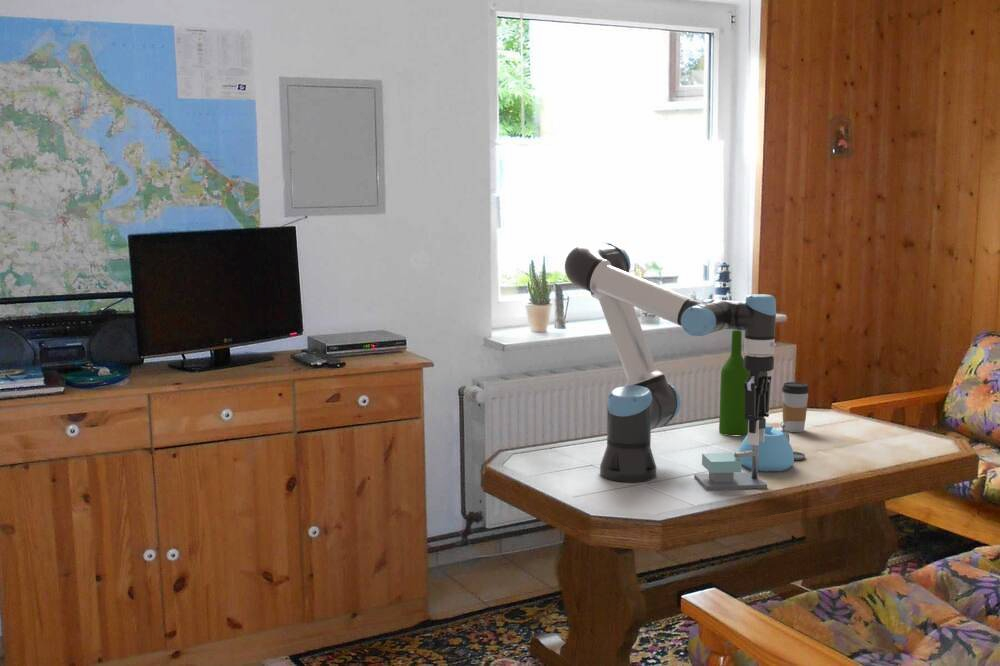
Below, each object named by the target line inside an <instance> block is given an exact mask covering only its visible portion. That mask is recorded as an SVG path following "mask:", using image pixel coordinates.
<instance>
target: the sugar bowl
mask: <svg viewBox="0 0 1000 666" xmlns="http://www.w3.org/2000/svg"><path fill="white" fill-rule="evenodd" d="M773 428H774V427H773V425H771V424H766V427H765V435H764V442H759V453H758V470H759V471H758V472H762V471H780V472H783V471H782V470H785V471H787V470H788V469H790V468H791V467H792V466H793V464H794V463H795V460H794V455H793V452H794V450H793V447H792V446H791V442H790V440H789V441H788V440H787V438H786V436H785V435H784V433H783V432H781V430H777V429H773ZM747 443H748V434H747V435H745V437H744V439H743V441H742V442H741V444H740V447H739V449H738V452H742V451H749V450H752V445H750V444H747ZM739 459H740V460H741V461H742V465H741V466H743V467H744V466H745V467H744V468H746V467H747V468H746V469H748V468H749V470H751V469H752V456H751V457H744V458H739ZM786 469H787V470H786Z"/></svg>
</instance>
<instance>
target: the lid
mask: <svg viewBox="0 0 1000 666" xmlns="http://www.w3.org/2000/svg"><path fill="white" fill-rule="evenodd" d="M701 455H702V456H701V465H702V466H703V467H704V468H705V469H706V470H707V471H708V473H709V472H710V473H742V466H743V465H742V461H741V460H740V459H739V458H735V457H734V453H733V452H717V453H716V452H714V453H713V452H710V453H708V452H707V453H706V452H705V453H701Z"/></svg>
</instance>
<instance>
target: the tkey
mask: <svg viewBox="0 0 1000 666" xmlns="http://www.w3.org/2000/svg"><path fill="white" fill-rule="evenodd" d="M758 420H759V429H765V427H766V425H767V424H766V421H767V418H765V419H764V418H761V417H758ZM747 425H748V421H747ZM758 453H759V445H758V446H757V445H752V450H749V451H742V452H739V451H736V452H735V451H734V453H733V454H734V457H735V458H744V457H751V456H752V470H751V472H750V473H751V478H753V479H757V478H758V477H759V476H758V475H759V471H758Z"/></svg>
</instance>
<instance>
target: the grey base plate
mask: <svg viewBox="0 0 1000 666" xmlns="http://www.w3.org/2000/svg"><path fill="white" fill-rule="evenodd" d="M694 479H695V480H696V481H697V482H698V483H699V484H700V485H701V486H702V487H703V488H704V489H705V490H706V491H722V490H723V491H724V490H726V491H727V489H728V490H750V489H749V488H754V489H755V488H763V489H768V484H767V483H766V482H765V481H764V480H763V479H761V478H760V477H759V476H758V478H757V479H753V478H751V472H736V473H710V472H709V471H708V473H694ZM746 488H748V489H746ZM754 489H753V490H754ZM755 490H756V489H755Z"/></svg>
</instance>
